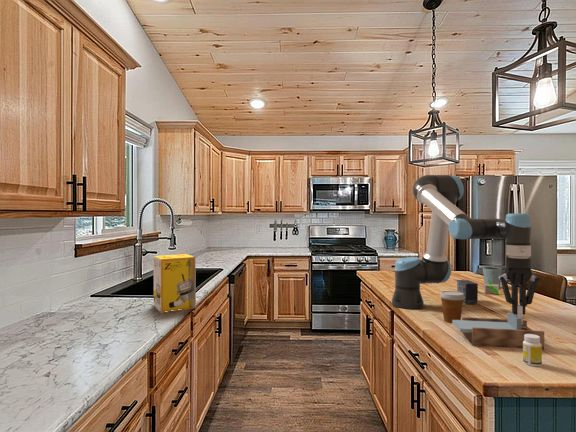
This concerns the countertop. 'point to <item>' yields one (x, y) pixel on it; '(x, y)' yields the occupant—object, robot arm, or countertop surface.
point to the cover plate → (489, 324)
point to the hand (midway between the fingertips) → (518, 323)
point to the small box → (468, 291)
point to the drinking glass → (492, 275)
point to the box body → (500, 335)
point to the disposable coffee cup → (452, 305)
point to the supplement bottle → (532, 350)
